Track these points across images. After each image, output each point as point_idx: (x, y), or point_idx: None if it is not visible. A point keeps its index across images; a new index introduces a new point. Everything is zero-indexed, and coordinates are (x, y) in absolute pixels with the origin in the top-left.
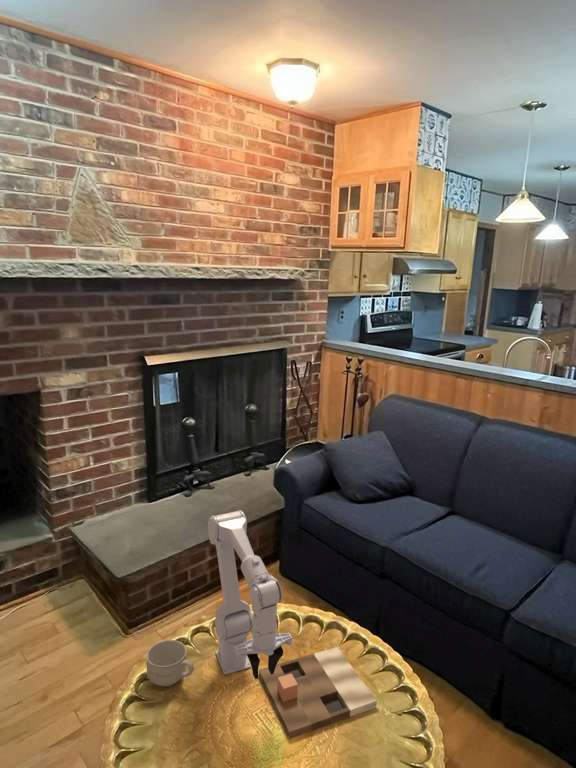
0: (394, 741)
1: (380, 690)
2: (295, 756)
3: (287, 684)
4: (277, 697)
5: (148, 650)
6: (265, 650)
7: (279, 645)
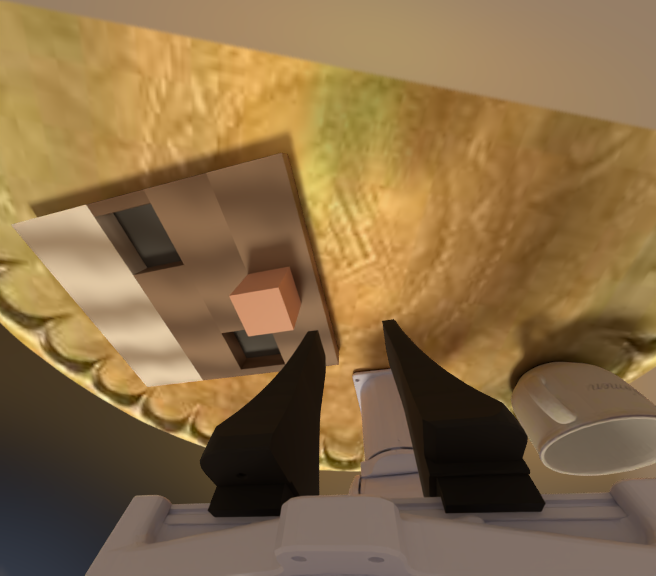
0: None
1: (38, 268)
2: (273, 77)
3: (263, 301)
4: (303, 283)
5: (653, 462)
6: (388, 573)
7: (201, 556)
